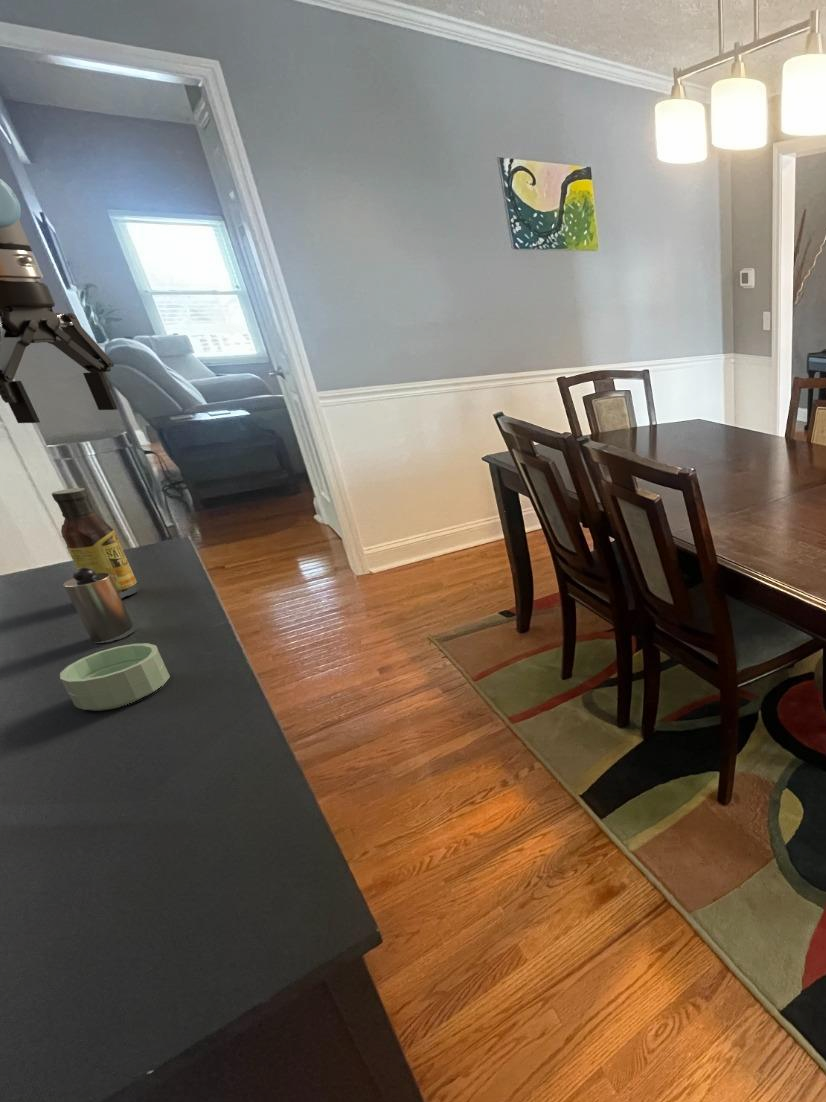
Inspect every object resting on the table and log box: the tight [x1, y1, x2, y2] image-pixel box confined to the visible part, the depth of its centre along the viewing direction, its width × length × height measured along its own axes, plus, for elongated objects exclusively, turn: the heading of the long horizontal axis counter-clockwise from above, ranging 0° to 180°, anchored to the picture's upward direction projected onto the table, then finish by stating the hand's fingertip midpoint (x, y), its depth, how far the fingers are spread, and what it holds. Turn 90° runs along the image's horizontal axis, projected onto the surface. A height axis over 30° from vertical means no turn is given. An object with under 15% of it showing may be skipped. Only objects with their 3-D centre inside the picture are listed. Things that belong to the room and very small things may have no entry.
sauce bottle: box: [51, 487, 138, 593], centre depth 104 cm, size 7×6×20 cm
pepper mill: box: [62, 568, 134, 643], centre depth 93 cm, size 5×5×12 cm
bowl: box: [59, 642, 171, 712], centre depth 80 cm, size 9×9×5 cm
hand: (71, 416), depth 103 cm, fingers open, 13 cm apart
